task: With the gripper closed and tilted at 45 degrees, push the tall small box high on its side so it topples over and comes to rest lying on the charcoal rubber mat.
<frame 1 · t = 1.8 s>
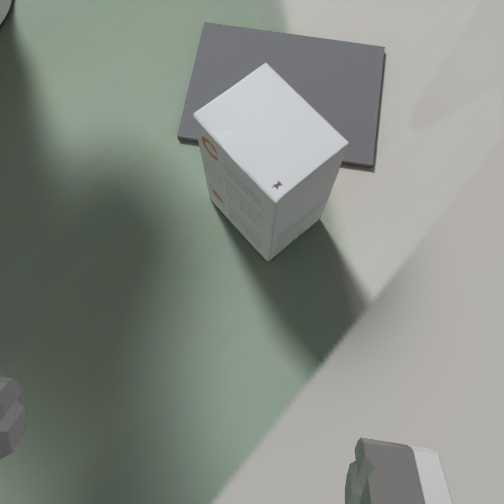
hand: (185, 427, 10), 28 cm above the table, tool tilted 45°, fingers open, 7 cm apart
mat: (284, 93, 44), on the table
small box: (264, 209, 41), on the table
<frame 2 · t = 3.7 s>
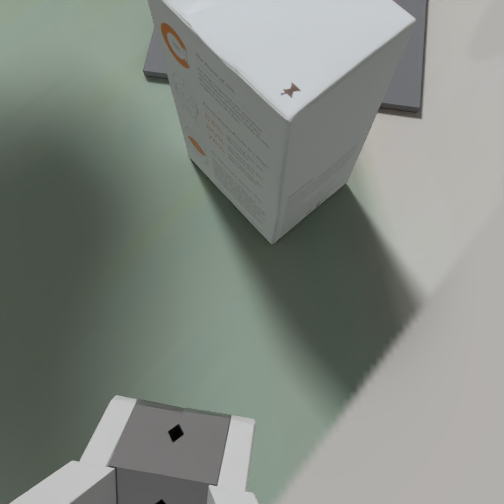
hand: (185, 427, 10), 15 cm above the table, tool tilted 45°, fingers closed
mat: (292, 14, 32), on the table
small box: (266, 170, 29), on the table
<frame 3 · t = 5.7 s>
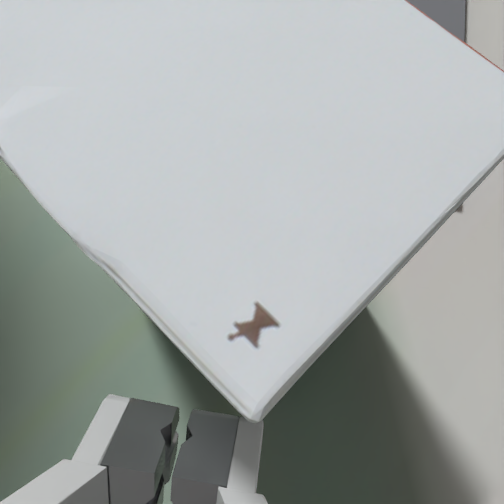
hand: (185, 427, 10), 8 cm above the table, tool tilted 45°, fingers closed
mat: (272, 53, 22), on the table
small box: (240, 279, 19), on the table, touching gripper
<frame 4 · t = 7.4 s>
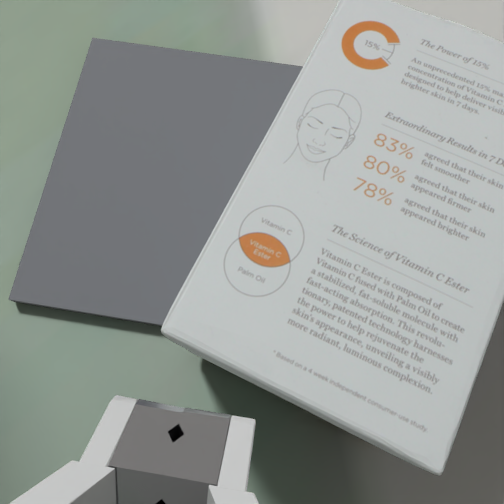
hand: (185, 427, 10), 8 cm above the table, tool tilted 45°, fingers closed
mat: (254, 191, 20), on the table
small box: (281, 406, 14), point 4 cm above the table, touching mat
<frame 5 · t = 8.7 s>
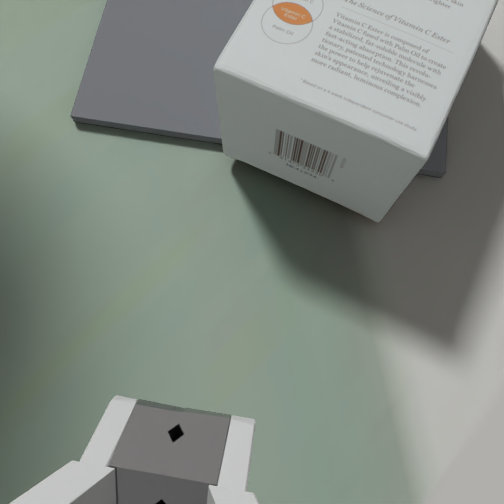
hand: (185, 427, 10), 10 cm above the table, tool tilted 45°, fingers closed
mat: (274, 39, 24), on the table
small box: (302, 162, 18), point 4 cm above the table, touching mat
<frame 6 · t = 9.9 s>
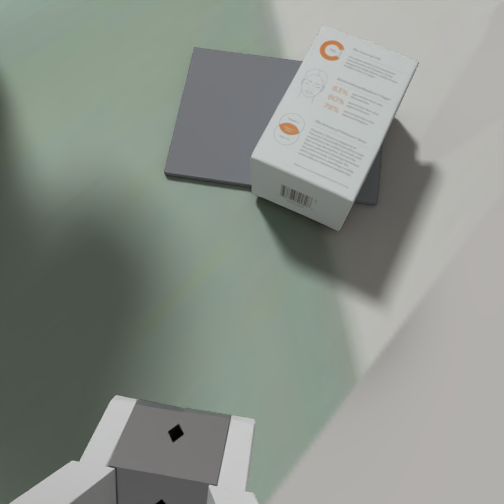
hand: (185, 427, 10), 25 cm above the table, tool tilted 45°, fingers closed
mat: (279, 123, 41), on the table
small box: (295, 200, 35), point 4 cm above the table, touching mat
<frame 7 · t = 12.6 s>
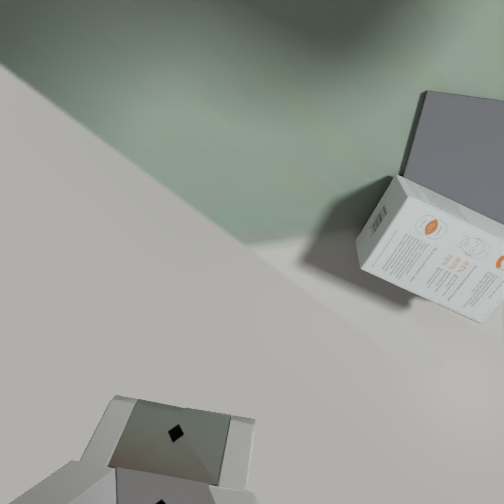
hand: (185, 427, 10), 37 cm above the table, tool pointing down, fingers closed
mat: (466, 196, 44), on the table
small box: (375, 218, 43), point 4 cm above the table, touching mat
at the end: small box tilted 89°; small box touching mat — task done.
